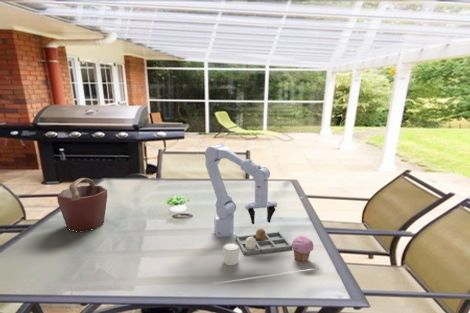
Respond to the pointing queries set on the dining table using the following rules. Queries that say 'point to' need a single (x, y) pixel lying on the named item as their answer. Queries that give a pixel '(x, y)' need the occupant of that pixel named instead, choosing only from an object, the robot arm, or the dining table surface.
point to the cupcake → (302, 248)
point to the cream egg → (250, 243)
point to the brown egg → (260, 235)
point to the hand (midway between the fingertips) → (260, 222)
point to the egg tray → (265, 243)
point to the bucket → (83, 205)
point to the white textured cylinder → (231, 253)
